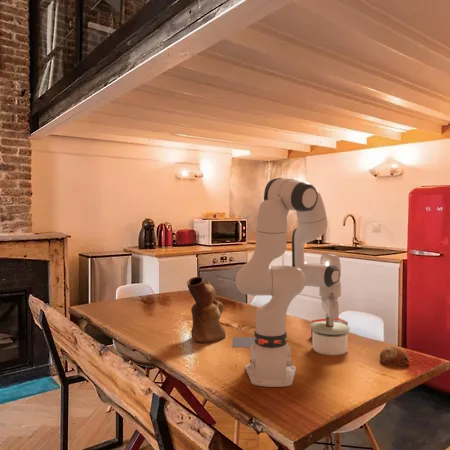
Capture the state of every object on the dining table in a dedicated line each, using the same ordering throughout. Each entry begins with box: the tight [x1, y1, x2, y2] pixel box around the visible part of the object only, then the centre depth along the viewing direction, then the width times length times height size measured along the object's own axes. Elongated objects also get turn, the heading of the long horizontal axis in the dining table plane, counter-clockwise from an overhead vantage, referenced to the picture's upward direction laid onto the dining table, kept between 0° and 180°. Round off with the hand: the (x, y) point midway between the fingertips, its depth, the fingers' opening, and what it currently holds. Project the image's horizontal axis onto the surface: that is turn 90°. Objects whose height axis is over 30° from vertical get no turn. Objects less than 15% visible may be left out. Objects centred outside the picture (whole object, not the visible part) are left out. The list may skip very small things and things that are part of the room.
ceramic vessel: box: [186, 276, 226, 344], centre depth 186 cm, size 16×22×30 cm
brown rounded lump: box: [379, 345, 410, 367], centre depth 160 cm, size 10×10×8 cm
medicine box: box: [310, 317, 349, 338], centre depth 191 cm, size 15×8×8 cm, turn 111°
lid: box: [310, 316, 350, 335], centre depth 174 cm, size 16×16×5 cm
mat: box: [231, 336, 255, 349], centre depth 183 cm, size 14×14×1 cm
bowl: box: [311, 331, 349, 356], centre depth 174 cm, size 14×14×8 cm
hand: (329, 323), depth 174 cm, fingers closed on lid, 3 cm apart
